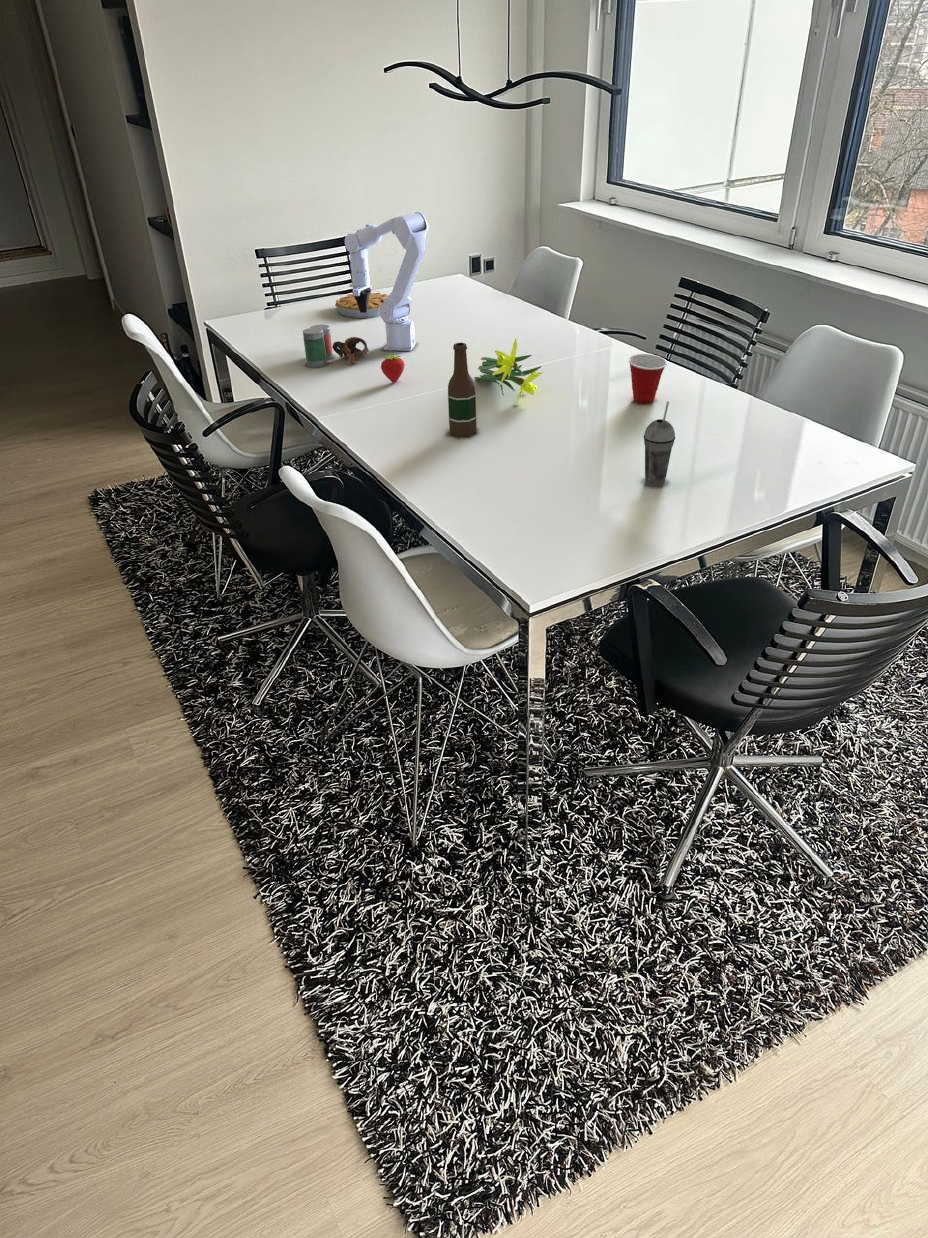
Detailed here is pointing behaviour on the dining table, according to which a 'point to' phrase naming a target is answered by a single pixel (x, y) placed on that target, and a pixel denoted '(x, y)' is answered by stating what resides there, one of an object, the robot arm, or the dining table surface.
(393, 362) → the strawberry
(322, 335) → the tin cans
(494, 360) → the daffodil flowers
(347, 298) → the pie
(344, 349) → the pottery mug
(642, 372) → the plastic cup
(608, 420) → the dining table surface
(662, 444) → the beverage cup
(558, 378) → the dining table surface
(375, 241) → the robot arm
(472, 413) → the beer bottle
